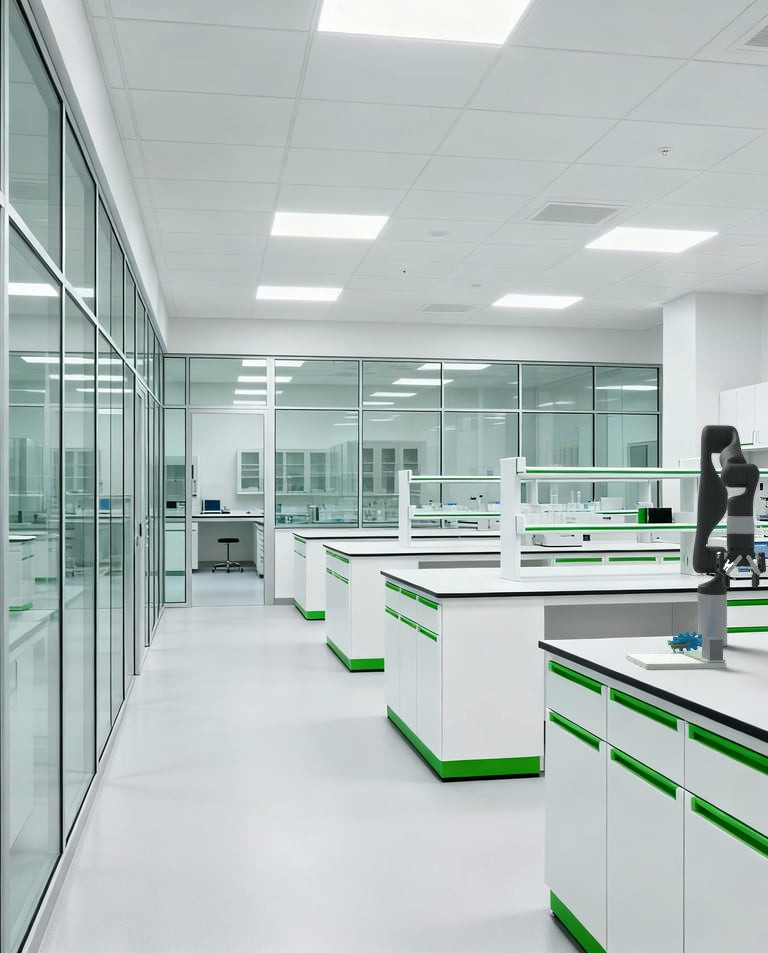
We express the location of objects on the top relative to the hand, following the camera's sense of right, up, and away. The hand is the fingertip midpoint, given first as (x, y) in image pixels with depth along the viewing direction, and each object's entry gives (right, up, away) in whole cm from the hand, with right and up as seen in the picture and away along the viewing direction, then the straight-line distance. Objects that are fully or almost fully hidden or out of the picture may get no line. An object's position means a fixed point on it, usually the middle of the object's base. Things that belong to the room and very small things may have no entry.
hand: (740, 587), depth 251 cm
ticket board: (-17, -24, +6) cm, 30 cm away
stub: (-8, -22, +7) cm, 24 cm away
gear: (-8, -24, +24) cm, 35 cm away
